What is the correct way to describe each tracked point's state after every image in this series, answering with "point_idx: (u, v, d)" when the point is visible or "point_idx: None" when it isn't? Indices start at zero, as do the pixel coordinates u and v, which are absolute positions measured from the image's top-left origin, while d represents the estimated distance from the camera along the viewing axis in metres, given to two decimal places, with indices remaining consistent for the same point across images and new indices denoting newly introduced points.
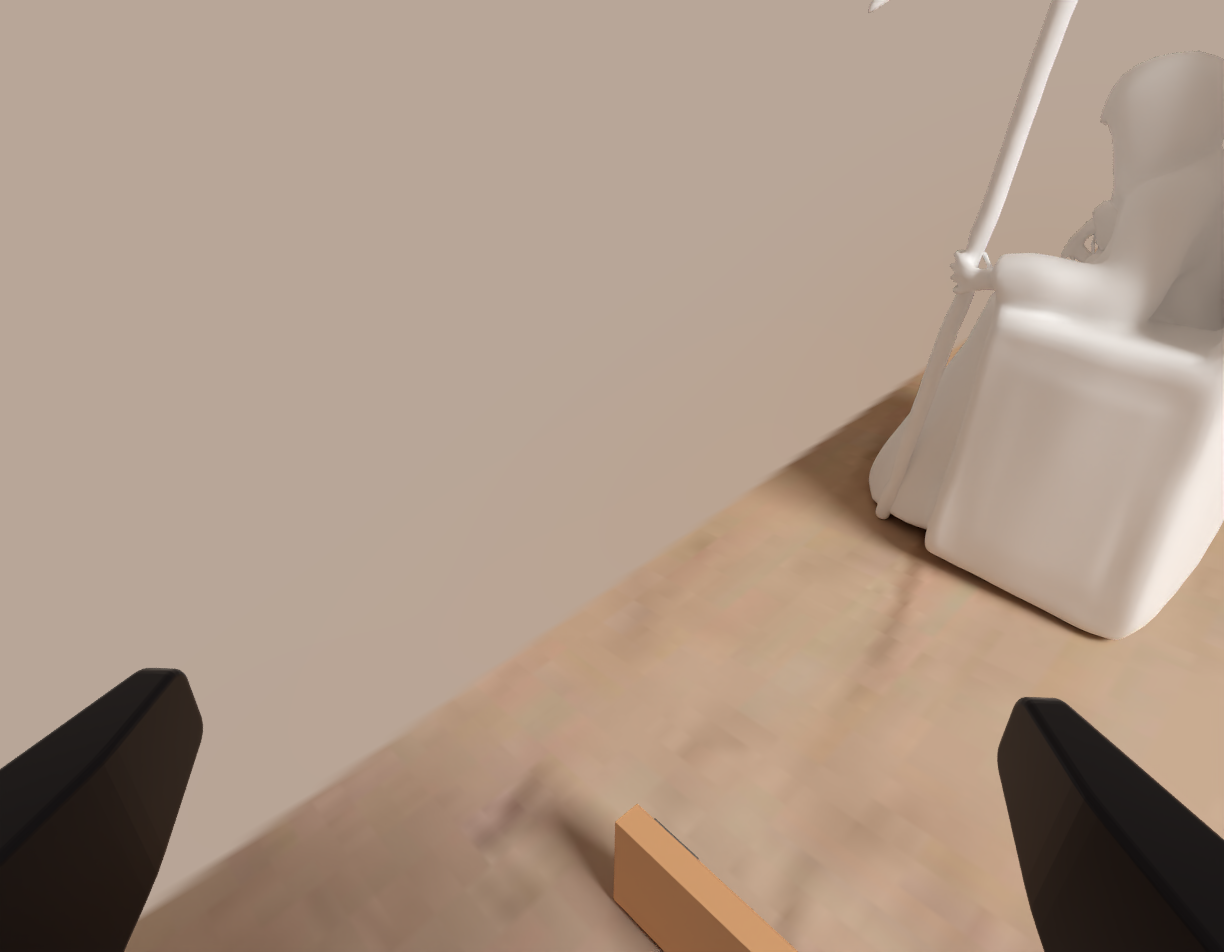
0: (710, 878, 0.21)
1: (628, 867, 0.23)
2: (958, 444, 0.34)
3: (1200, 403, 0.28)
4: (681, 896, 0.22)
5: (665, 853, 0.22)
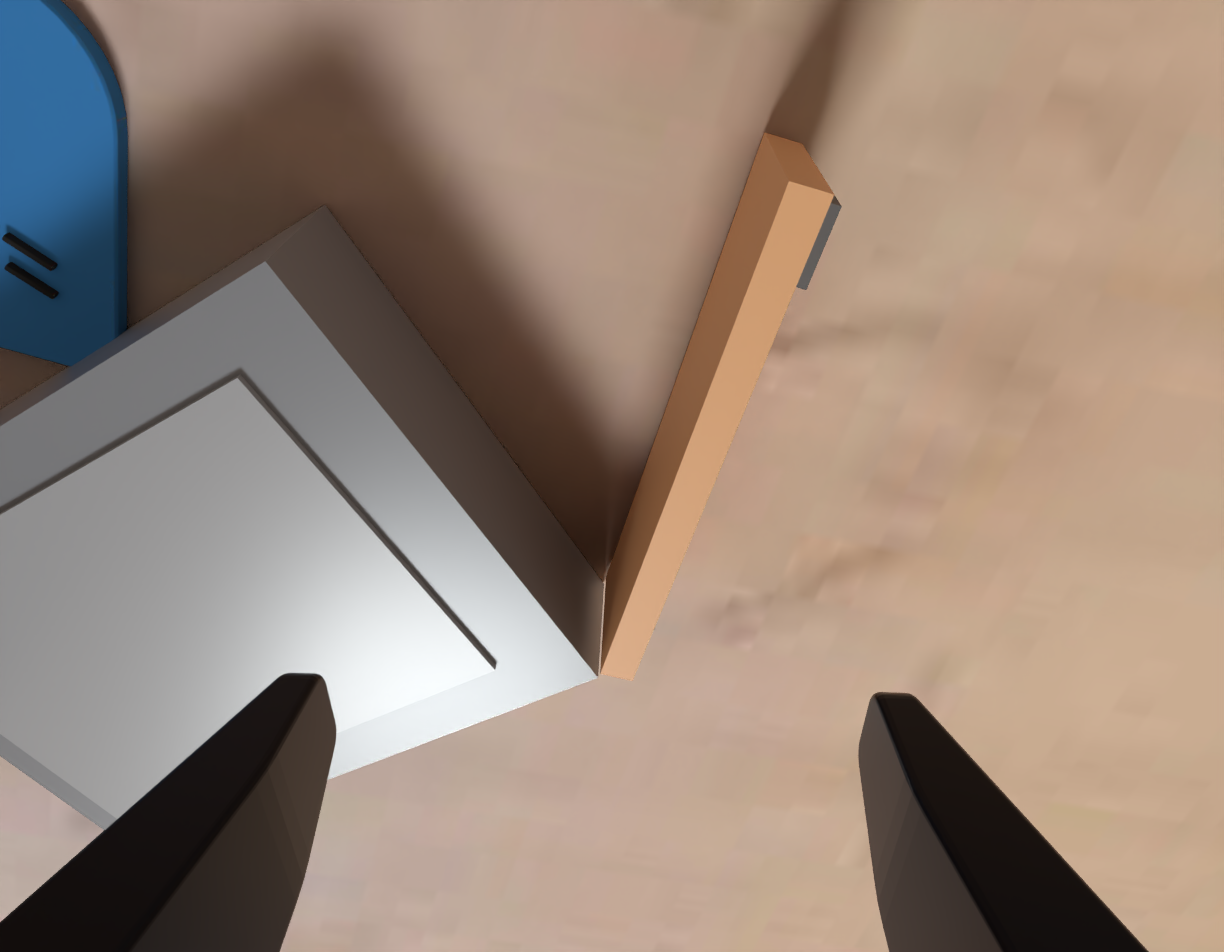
0: (766, 337, 0.16)
1: (767, 189, 0.16)
2: None
3: None
4: (736, 302, 0.16)
5: (773, 270, 0.15)
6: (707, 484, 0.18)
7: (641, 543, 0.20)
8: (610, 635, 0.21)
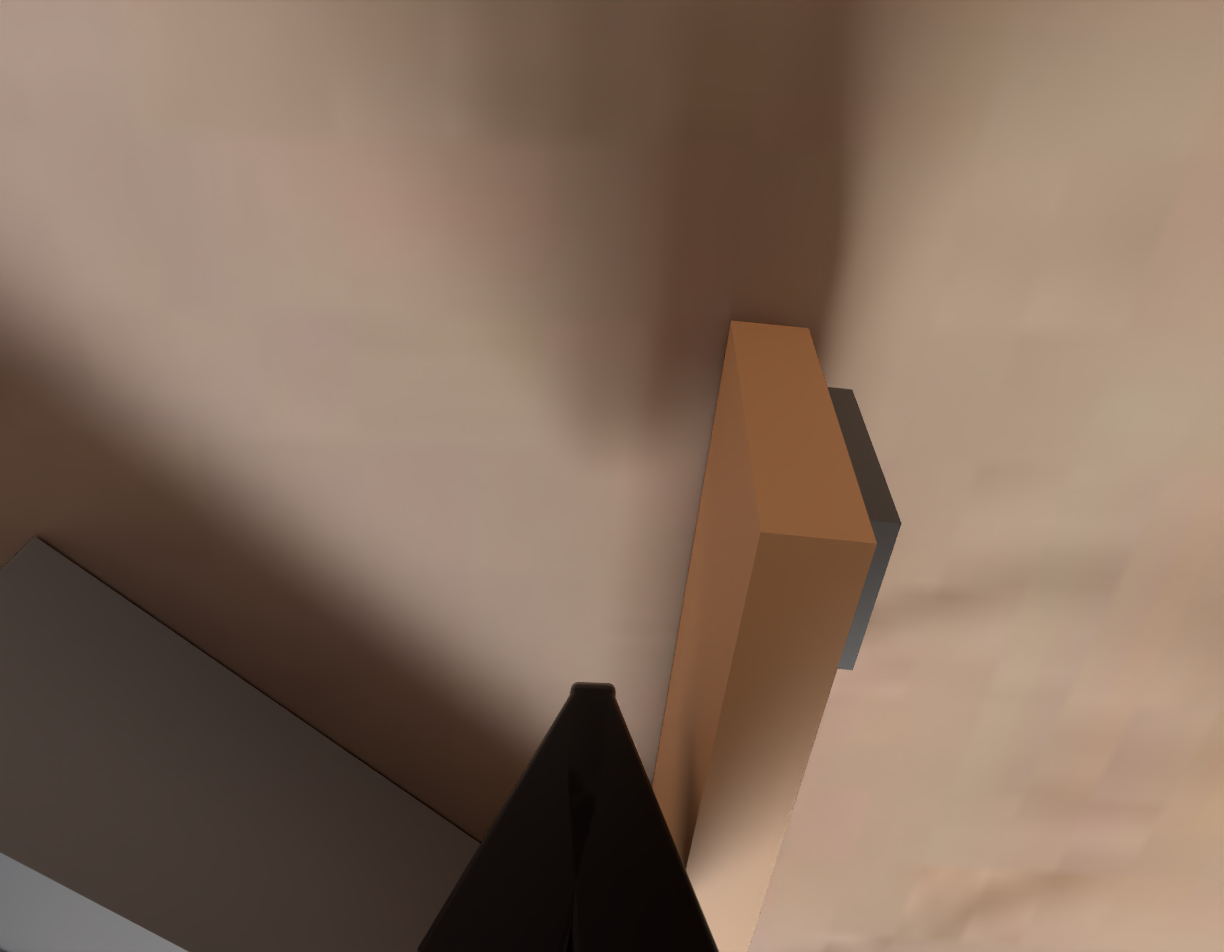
0: (781, 791, 0.07)
1: (735, 481, 0.07)
2: None
3: None
4: (708, 716, 0.08)
5: (768, 689, 0.07)
6: None
7: None
8: None
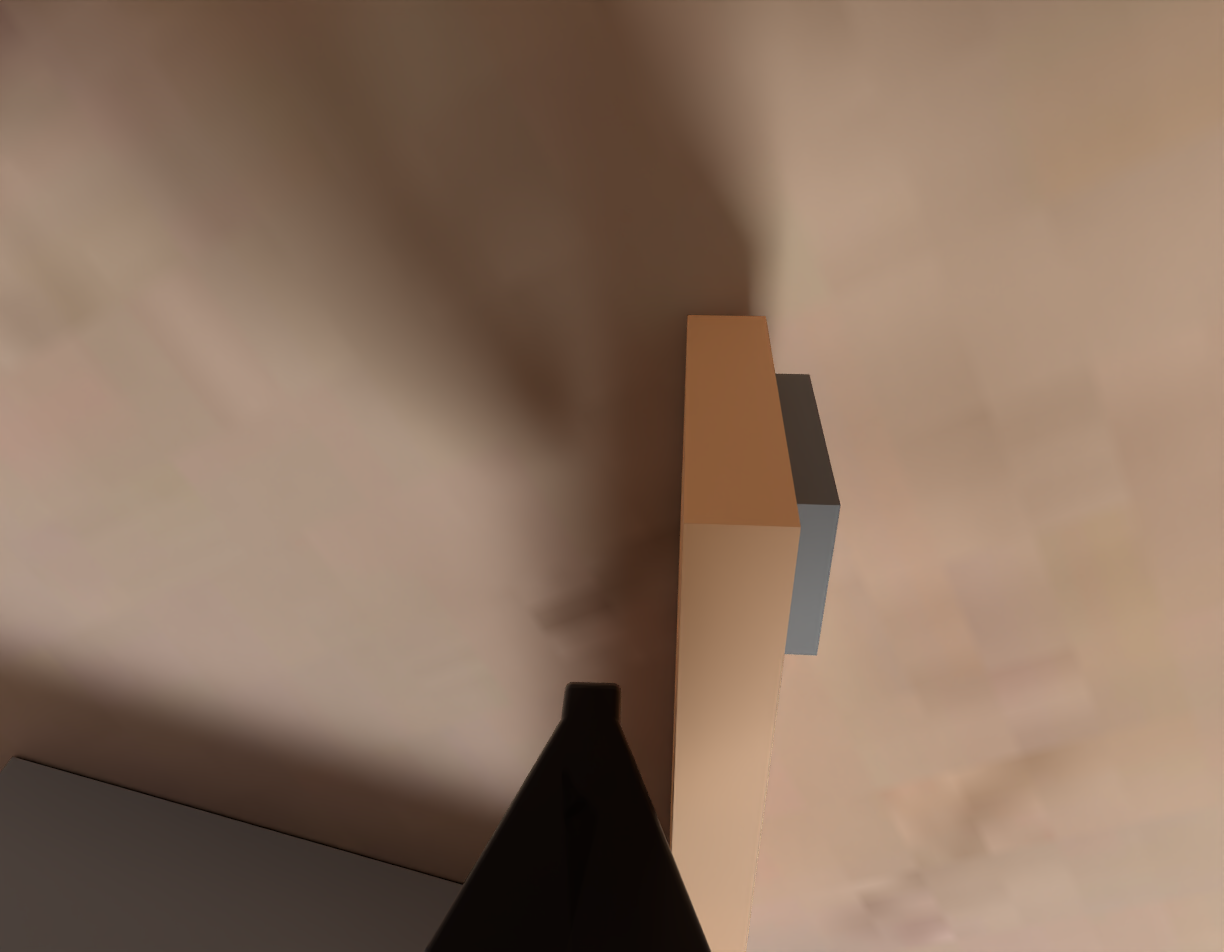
0: (750, 779, 0.07)
1: (682, 474, 0.07)
2: None
3: None
4: (676, 709, 0.08)
5: (719, 679, 0.07)
6: None
7: None
8: None
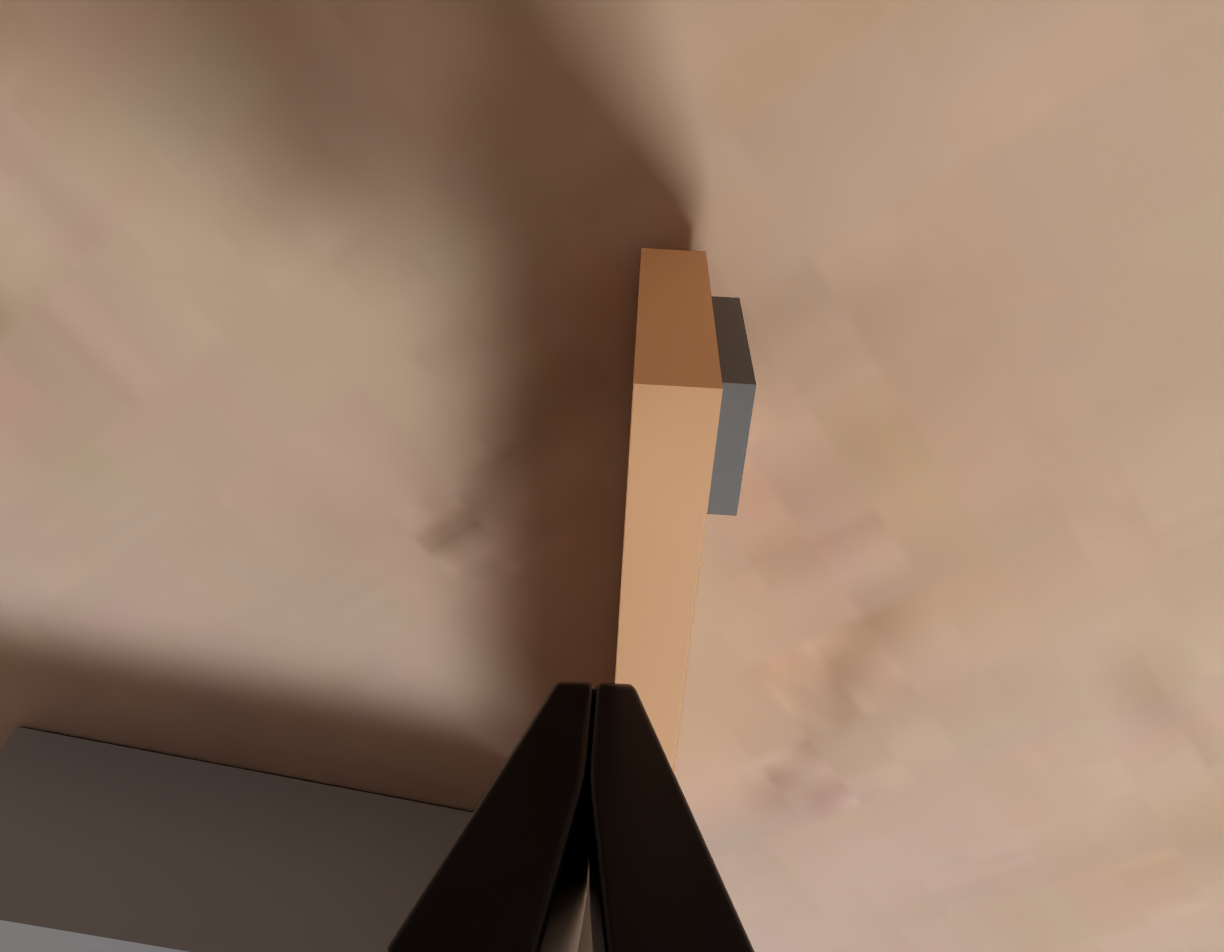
0: (680, 612, 0.09)
1: (634, 367, 0.09)
2: None
3: None
4: None
5: (658, 520, 0.09)
6: None
7: None
8: None
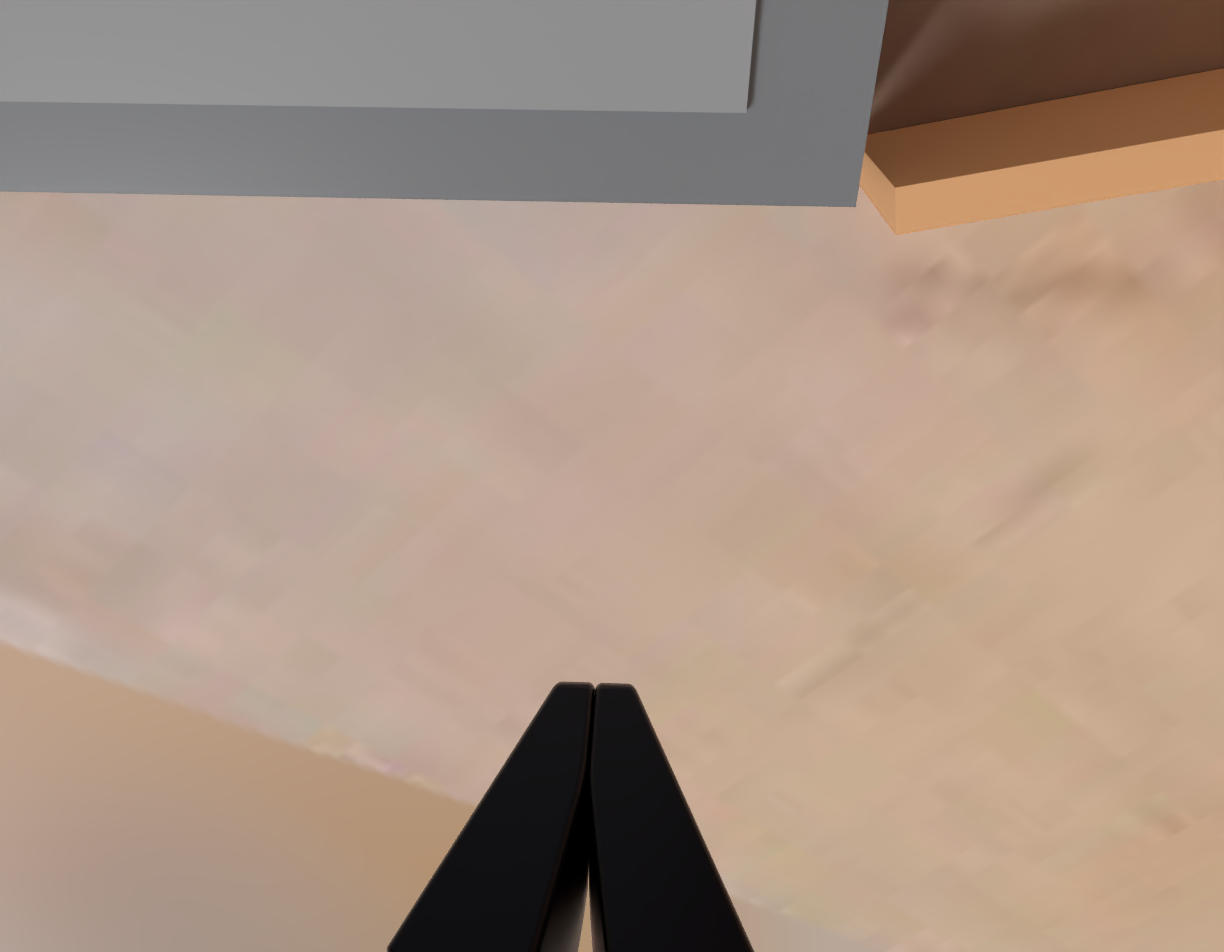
0: None
1: None
2: None
3: None
4: None
5: None
6: None
7: (1093, 136, 0.15)
8: (938, 171, 0.15)
